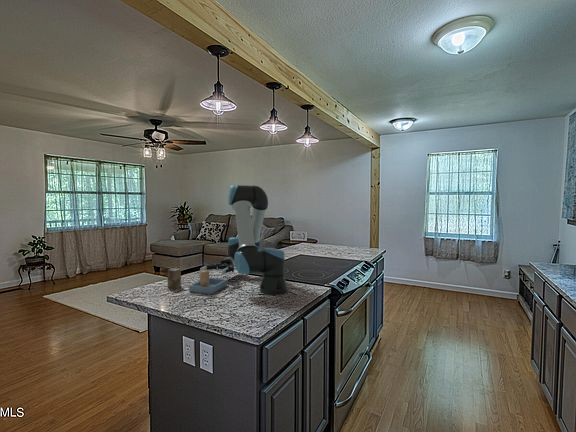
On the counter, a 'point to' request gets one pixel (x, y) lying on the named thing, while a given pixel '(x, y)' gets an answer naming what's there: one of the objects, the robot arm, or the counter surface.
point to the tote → (213, 286)
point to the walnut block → (174, 278)
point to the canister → (204, 278)
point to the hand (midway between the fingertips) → (211, 271)
